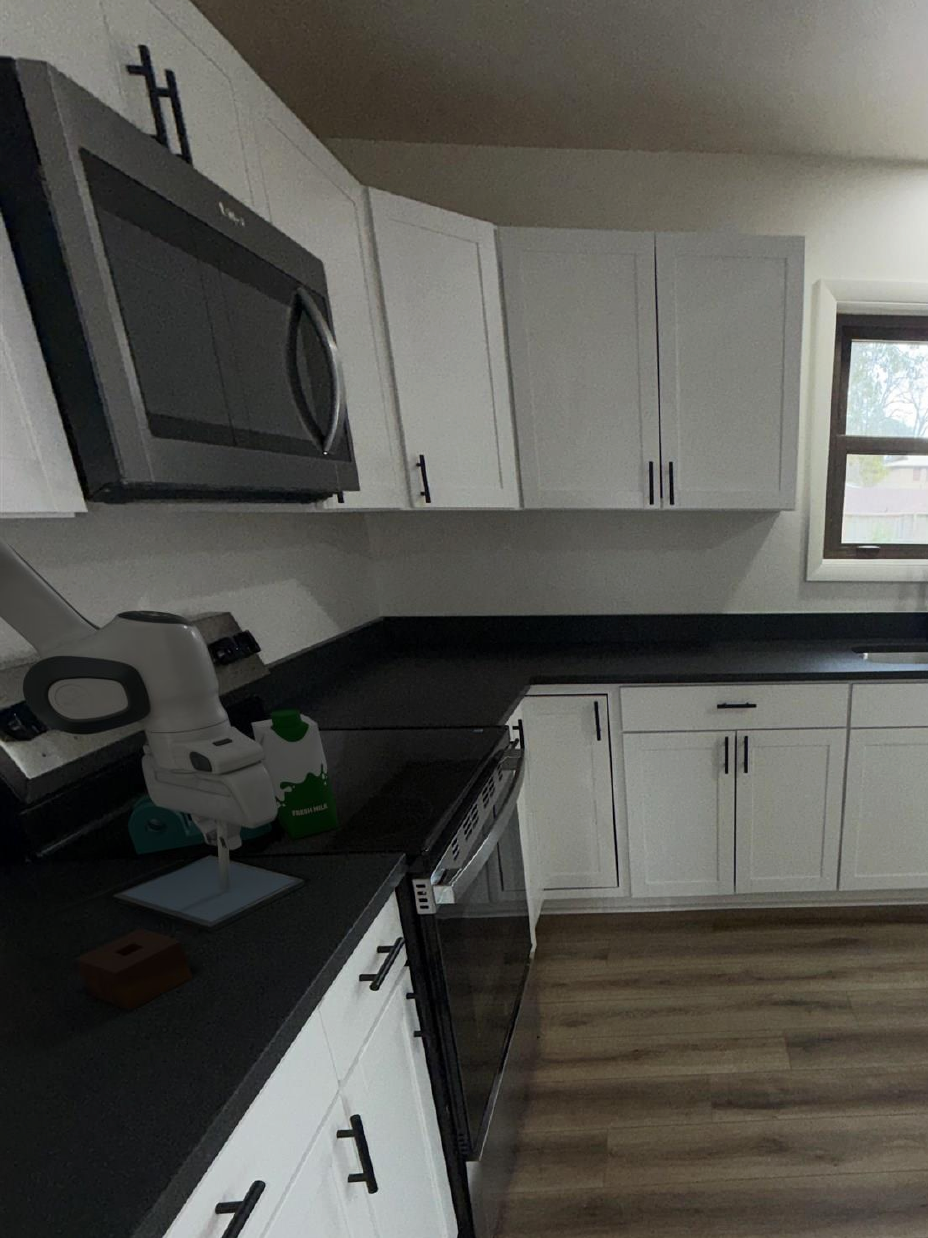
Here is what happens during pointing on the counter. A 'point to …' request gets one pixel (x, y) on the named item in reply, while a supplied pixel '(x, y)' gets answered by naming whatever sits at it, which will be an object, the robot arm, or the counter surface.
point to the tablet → (209, 893)
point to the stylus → (223, 862)
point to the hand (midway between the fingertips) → (224, 845)
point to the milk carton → (297, 772)
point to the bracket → (170, 828)
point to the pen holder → (134, 968)
